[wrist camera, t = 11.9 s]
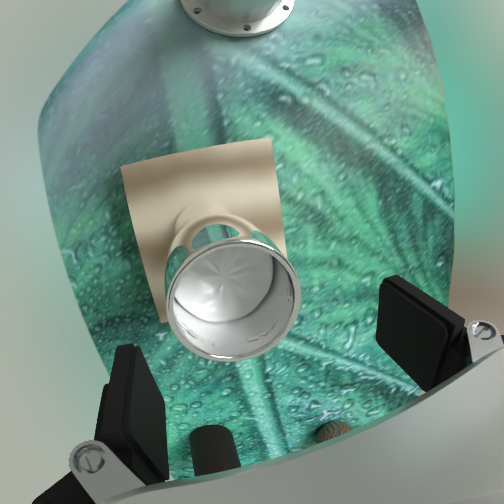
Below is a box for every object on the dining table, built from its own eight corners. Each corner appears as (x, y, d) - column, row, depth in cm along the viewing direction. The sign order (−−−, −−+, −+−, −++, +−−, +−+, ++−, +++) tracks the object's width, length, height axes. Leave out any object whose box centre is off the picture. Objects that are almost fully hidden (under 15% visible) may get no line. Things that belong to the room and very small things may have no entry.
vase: (319, 417, 45) (341, 453, 36) (351, 413, 47) (374, 445, 38) (305, 441, 46) (323, 476, 38) (336, 437, 48) (355, 468, 40)
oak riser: (125, 165, 27) (120, 166, 24) (262, 139, 29) (270, 137, 27) (162, 309, 32) (161, 323, 29) (281, 281, 35) (290, 292, 32)
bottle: (187, 447, 40) (206, 553, 21) (191, 422, 38) (212, 541, 20) (227, 447, 42) (257, 548, 23) (235, 423, 40) (271, 534, 22)
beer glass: (168, 267, 28) (164, 367, 14) (170, 193, 26) (161, 232, 12) (239, 268, 30) (294, 360, 16) (245, 197, 28) (316, 237, 14)
